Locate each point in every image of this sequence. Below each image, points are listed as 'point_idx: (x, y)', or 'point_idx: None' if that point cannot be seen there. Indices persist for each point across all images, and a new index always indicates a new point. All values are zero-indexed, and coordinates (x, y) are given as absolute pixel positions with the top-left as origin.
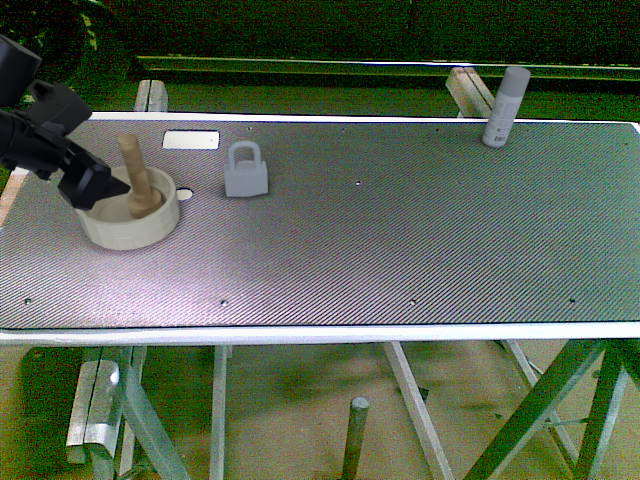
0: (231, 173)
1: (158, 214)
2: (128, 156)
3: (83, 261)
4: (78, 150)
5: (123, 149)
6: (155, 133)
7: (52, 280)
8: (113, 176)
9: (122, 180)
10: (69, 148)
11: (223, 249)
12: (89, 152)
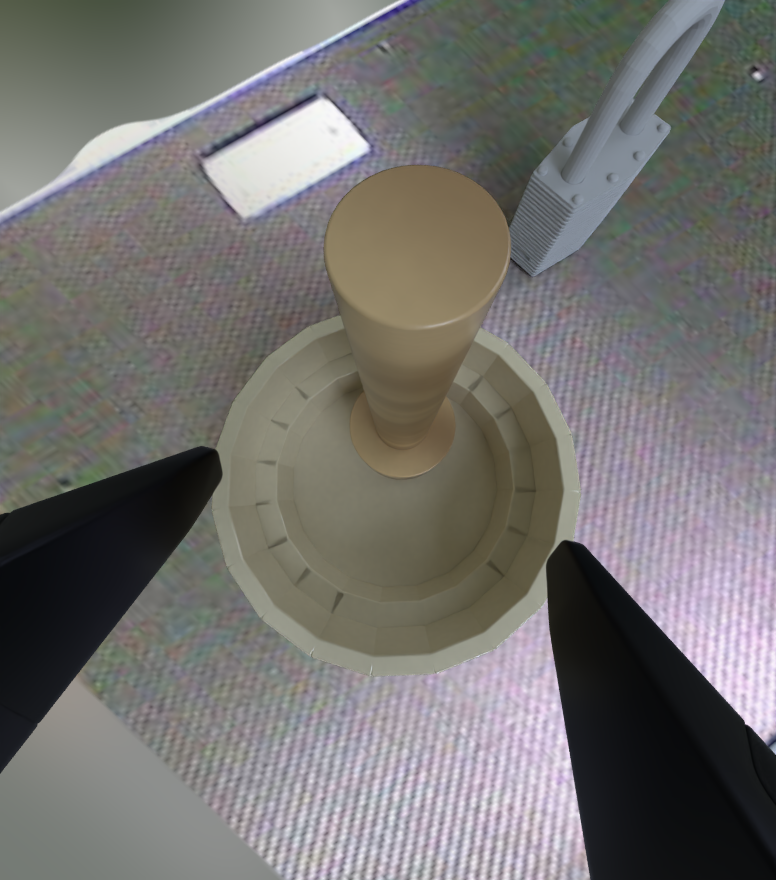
0: (591, 194)
1: (579, 493)
2: (443, 379)
3: (401, 681)
4: (90, 547)
5: (424, 363)
6: (181, 184)
7: (387, 789)
8: (724, 746)
9: (284, 398)
10: (5, 618)
11: (671, 435)
12: (160, 475)
